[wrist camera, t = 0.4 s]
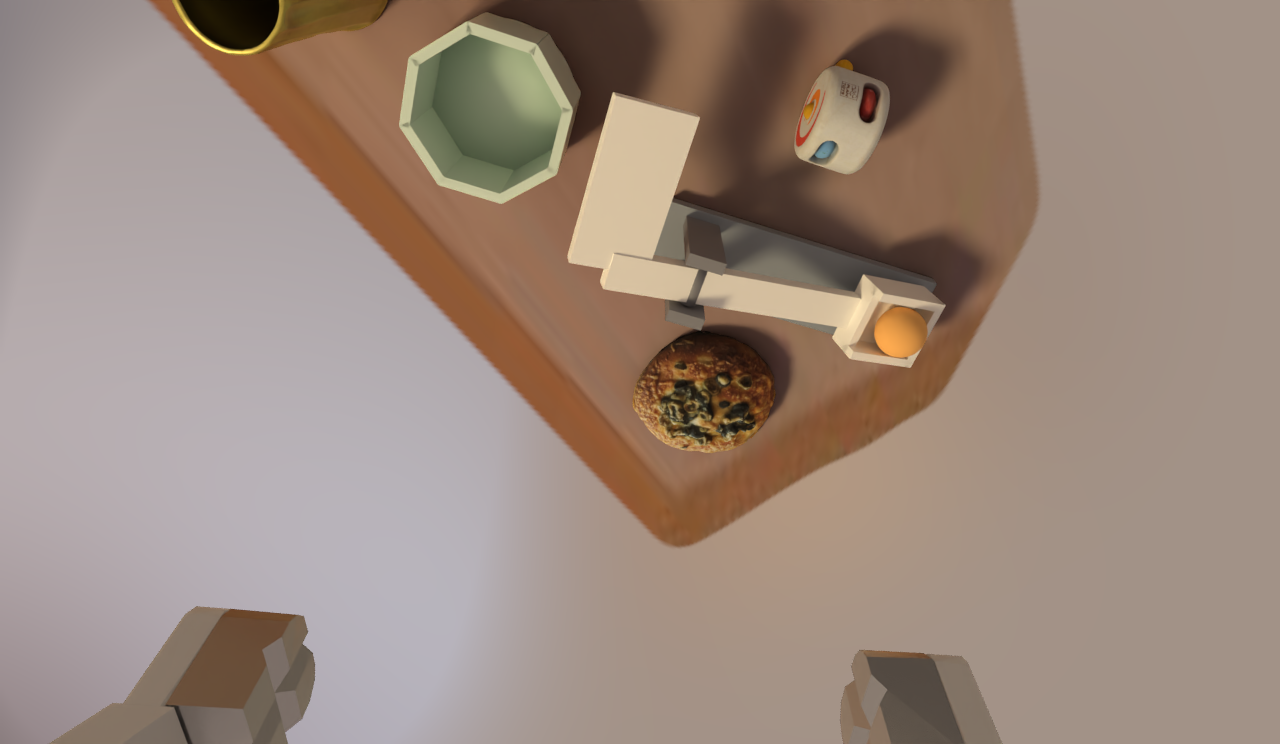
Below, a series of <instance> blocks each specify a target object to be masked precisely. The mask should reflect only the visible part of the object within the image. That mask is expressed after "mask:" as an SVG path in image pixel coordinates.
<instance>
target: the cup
mask: <svg viewBox="0 0 1280 744" xmlns="http://www.w3.org/2000/svg"><path fill="white" fill-rule="evenodd" d="M580 96H581V91H580V89H579V88H578V86H577V84H576V82H575V80H574V78H573V75H572V72H571V69H570V67H569V65H568V63H567V61H566V59H565V58H564V56H563V54H562V53H561V51H560V50H559V49H558V48H557V46H556V45H555V43H554V41H553V39H552V38H551V36H550V34H548V32H545V31H542V30H539V29H536V28H534V27H532V26H530V25H528V24H526V23H523V22H521V21H518V20H514V19H510V18H503V17H500V16H497V15H494V14H491V13H488V12H485V13H483V14H481V15H479V16H477V17H475V18H473V19H471V20H469V21H467V22H465V23H463V24H462V25H460V26H458V27H457V28H455V29H454V30H452V31H450V32H449V33H447V34H445V35H444V36H442V37H441V38H439V39H437V40H436V41H434V42H432V43H431V44H429V45H428V46H426V47H424V48H423V49H421V50H419V51H418V52H416V53H415V54H413V55H411V56H410V57H409V60H408V67H407V73H406V80H405V87H404V94H403V101H402V108H401V115H400V122H399V125H400V126H399V127H400V128H401V130H402V131H403V133H404V134H405V136H406V137H407V139H408V140H409V142H410V143H411V145H412V146H413V148H414V149H415V151H416V152H417V154H418V155H419V157H420V158H421V160H422V161H423V163H424V164H425V166H426V167H427V169H428V170H429V172H430V173H431V175H432V176H433V178H434V179H435V181H436V182H437V184H439V185H440V186H443V187H447V188H450V189H453V190H457V191H460V192H463V193H467V194H470V195H473V196H477V197H480V198H483V199H487V200H490V201H493V202H497V203H500V204H501V203H502V204H503V203H505V202H506V201H508V200H510V199H512V198H514V197H516V196H518V195H519V194H521V193H523V192H525V191H527V190H529V189H531V188H532V187H534V186H536V185H538V184H540V183H542V182H544V181H546V180H547V179H549V178H551V177H553V176H555V175H556V174H557V173H558V170H559V168H560V165H561V163H562V161H563V158H564V156H565V153H566V150H567V146H568V142H569V139H570V135H571V131H572V127H573V124H574V121H575V116H576V111H577V107H578V104H579V100H580Z"/></svg>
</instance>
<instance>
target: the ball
mask: <svg viewBox="0 0 1280 744" xmlns="http://www.w3.org/2000/svg"><path fill="white" fill-rule="evenodd" d="M927 335H928V330H927V325H926V322H925V320H924V319H923V317H922V316H921V315H920V314H919V313H918V312H916V311H915V310H913V309H910V308H906V307H897V308H893V309H890V310H888V311H886V312H885V313H884V314H882V315H881V317H880V318H879V319H878V321H877V323H876V325H875V330H874V336H875V340H876V343H877V345H878V346H879V348H880V349H881V350H882V351H883V352H885V353H886V354H888V355H890V356H893V357H898V358H903V357H908V356H911V355H913V354H915V353H917V352H918V351H919V350H920V349H921V348H922V347H923V346H924V344H925V342H926V339H927Z"/></svg>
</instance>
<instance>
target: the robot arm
mask: <svg viewBox="0 0 1280 744" xmlns="http://www.w3.org/2000/svg"><path fill="white" fill-rule="evenodd" d="M307 633H308V630H307V626H306V623H305V619H304V616H300V615H292V614H281V613H270V612H259V611H248V610H237V609H223V608H210V607H198V606H197V607H195V608H194V609H192V610H191V611H189V612H188V613H187V614H185V615H184V617H183V618H182V619H181V621H180V622H179V624H178V625H177V627H176V628H175V630H174V631H173V632H172V634H171V635H170V637H169V638H168V640H167V641H166V642H165V644H164V645H163V647H162V648H161V650H160V651H159V653H158V654H157V655H156V657H155V658H154V660H153V661H152V663H151V664H150V666H149V667H148V668H147V670H146V671H145V673H144V674H143V676H142V677H141V678H140V680H139V681H138V683H137V684H136V686H135V687H134V689H133V690H132V692H131V693H130V694H129V696H128V697H127V699H126V700H125V702H124V703H123V704H121V703H120V704H119V703H112V704H110V705H109V706H107V707H106V708H104V709H102V710H101V711H99V712H98V713H96V714H95V715H93V716H91V717H90V718H88V719H87V720H85V721H84V722H82V723H81V724H79V725H77V726H76V727H74V728H73V729H72V730H70V731H68V732H66V733H65V734H63V735H62V736H60V737H59V738H57V739H56V740H54V741H52V742H51V743H50V744H288V742H287V739H286V735H285V732H286V731H287V730H289V729H290V728H291V727H293V726H294V725H295V724H296V723H297V722H299V721H300V720H301V719H302V718H303V715H304V713H305V710H306V708H307V706H308V704H309V701H310V698H311V694H312V689H313V685H314V681H315V662H314V657H313V653H312V652H311V651H310V650H309V649H308V648H307V647H306V646H304V645H303V644H302V643H303V641H304V639H305V637H306V635H307ZM851 667H852V672H853V675H854V681H853V682H851V683H850V684H849V685H847V686H845V689H844V693H843V697H842V700H841V714H840V715H841V716H840V724H841V732H842V739H843V744H1002V741H1001V739H1000V737H999V734H998V732H997V730H996V728H995V725H994V723H993V720H992V718H991V716H990V713H989V711H988V709H987V706H986V704H985V702H984V699H983V697H982V695H981V692H980V690H979V688H978V685H977V683H976V681H975V678H974V676H973V674H972V671H971V669H970V667H969V664H968V662H967V661H966V660H965V659H964V658H963V657H962V656H950V655H934V654H924V653H909V652H889V651H870V650H859V651H858V653H857V654H856V655H855V657H854V660H853V663H852V666H851Z"/></svg>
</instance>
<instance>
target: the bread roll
mask: <svg viewBox="0 0 1280 744" xmlns="http://www.w3.org/2000/svg"><path fill="white" fill-rule="evenodd" d="M775 395H776V393H775V389H774V376H773V374H772V373H771V370H770V368H769V366H768V365H767V364H766V363H765V361H763V360H762V359H761V357H760V356H759V355H758V353H757V352H755V351H754V350H753V349H752V348H750V347H749V346H748V345H746V344H744V343H743V344H742V343H740V342H739V341H737V340H736V339H733V338H729V337H725V336H722V335H718V334H712V333H710V332H706V331H705V332H704V333H703V332H701V331H697V332H694V333H691V334H689V335H686V336H683V337H680V338H678V339H677V341H675V342H672V343H670V344H669V345H668V346H666V347H664V349H662V350H661V351H660V352H659V353H658V354H657V355H656V356H655V357H654V358H653V359H652V360H651V361H650V363H649V364H648V366H647V367H646V368H645V370H644V371H643V373H642V374H641V375H640V377H639V379H638V381H637V383H636V386H635V389H634V396H633V407H634V410H635V411H636V412H637V413H638V415H639V417H640V419H642V420H643V422H644V423H645V425H646V426H647V428H648V429H649V430H650V432H652V433H653V434H654V435H655V436H656V437H657V438H658V439H659V440H661V441H663V442H664V443H666V444H667V445H670V446H672V447H676V448H678V449H682V450H688V451H701V452H705V453H714V452H717V451H727V450H731V449H733V448H736V447H737V446H740V445H742V444H744V443H745V442H747V440H748V439H749V438H752V437H753V436H754V435H755V434H756V433H757V431H758V429H759V428H760V427H761V426H762V425H763V423H764V422H765V420H766V419H767V418H768V416H769V412H770V408H771V406H772V405H773V402H774V401H773V400H774V398H775Z"/></svg>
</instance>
